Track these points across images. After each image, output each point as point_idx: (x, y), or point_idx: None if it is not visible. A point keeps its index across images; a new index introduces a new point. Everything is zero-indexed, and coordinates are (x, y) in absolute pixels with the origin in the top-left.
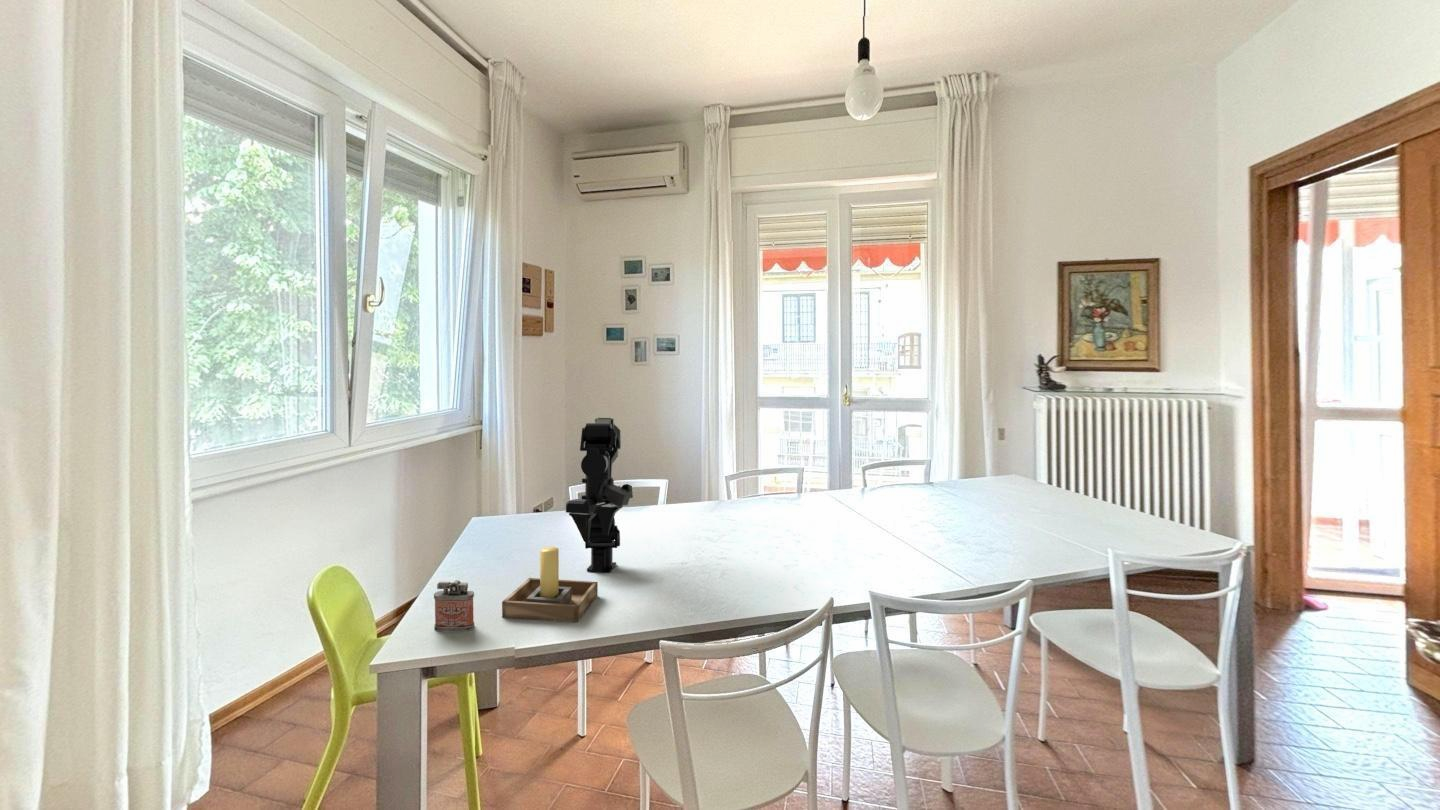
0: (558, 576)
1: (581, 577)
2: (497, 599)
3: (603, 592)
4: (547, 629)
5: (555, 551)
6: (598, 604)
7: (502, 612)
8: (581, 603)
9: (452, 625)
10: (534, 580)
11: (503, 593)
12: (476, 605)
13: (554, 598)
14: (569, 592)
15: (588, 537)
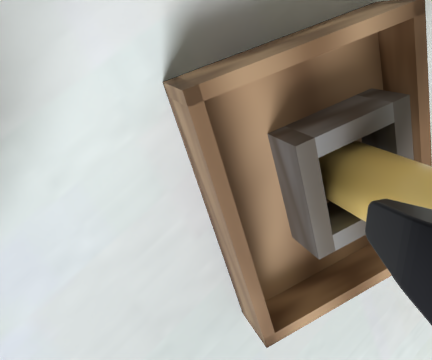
0: (405, 174)
1: (26, 287)
2: (316, 330)
3: (113, 83)
4: (429, 63)
5: None
6: (229, 22)
7: None
8: (381, 11)
9: None
10: (269, 321)
11: (279, 354)
12: (358, 334)
13: (398, 125)
14: (310, 133)
15: (416, 208)
